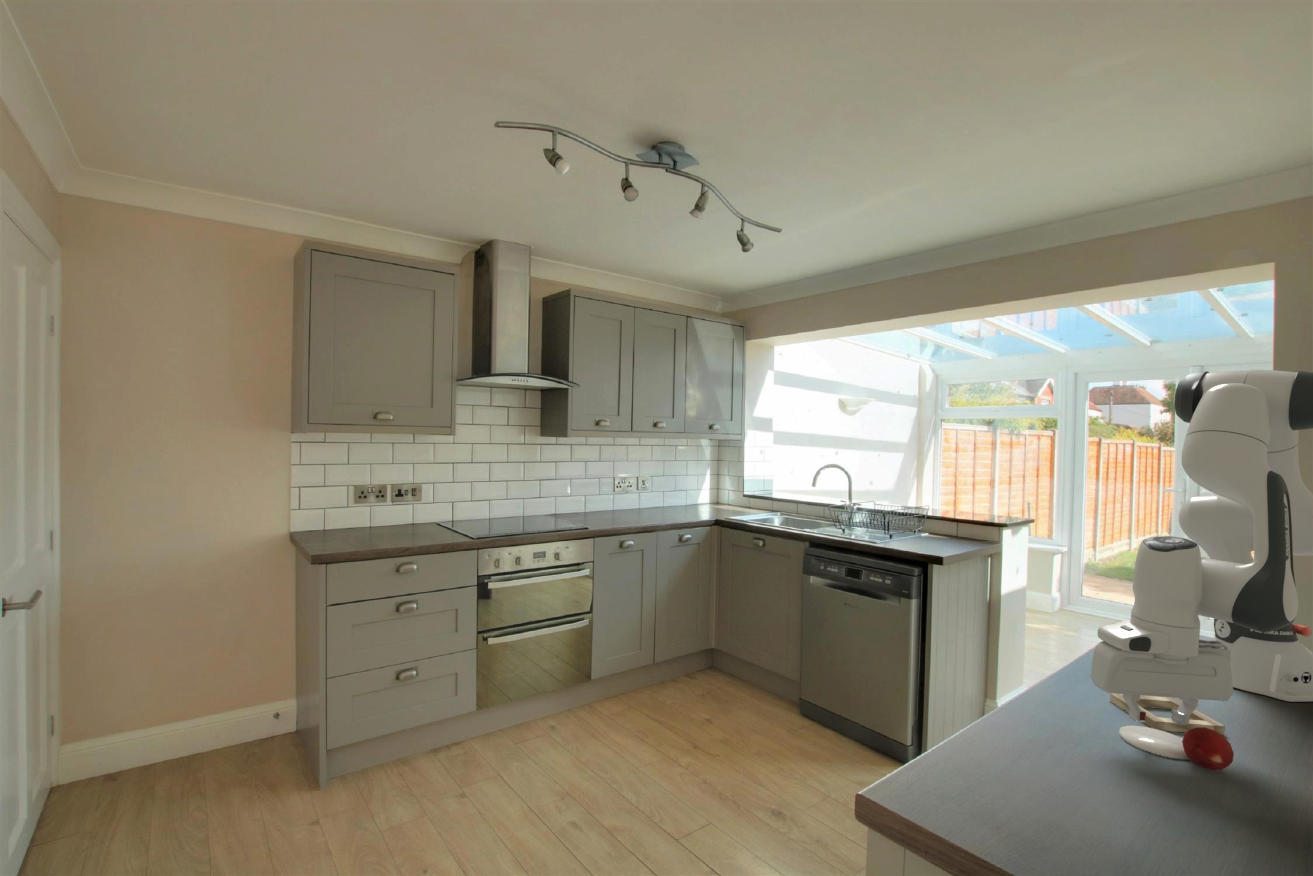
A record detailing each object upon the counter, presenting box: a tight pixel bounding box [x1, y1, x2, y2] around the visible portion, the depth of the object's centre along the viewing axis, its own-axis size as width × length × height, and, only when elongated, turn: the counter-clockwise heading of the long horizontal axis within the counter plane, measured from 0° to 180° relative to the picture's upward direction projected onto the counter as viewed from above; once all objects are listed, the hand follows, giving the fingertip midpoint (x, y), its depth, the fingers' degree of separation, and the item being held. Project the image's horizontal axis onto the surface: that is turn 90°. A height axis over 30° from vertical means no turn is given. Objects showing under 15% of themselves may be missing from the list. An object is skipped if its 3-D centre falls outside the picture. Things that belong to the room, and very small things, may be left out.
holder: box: [1109, 693, 1226, 736], centre depth 114 cm, size 12×12×2 cm
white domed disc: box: [1118, 725, 1191, 761], centre depth 104 cm, size 10×10×1 cm
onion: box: [1182, 727, 1235, 771], centre depth 96 cm, size 6×6×8 cm
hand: (1158, 721), depth 104 cm, fingers open, 5 cm apart
